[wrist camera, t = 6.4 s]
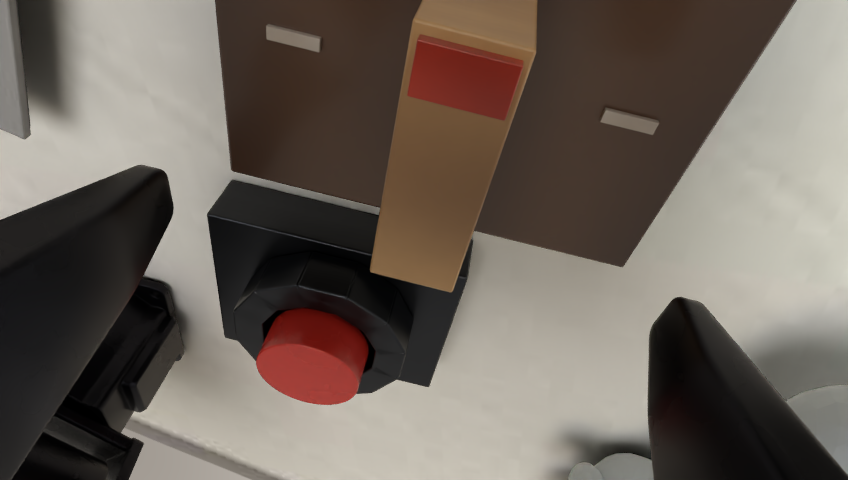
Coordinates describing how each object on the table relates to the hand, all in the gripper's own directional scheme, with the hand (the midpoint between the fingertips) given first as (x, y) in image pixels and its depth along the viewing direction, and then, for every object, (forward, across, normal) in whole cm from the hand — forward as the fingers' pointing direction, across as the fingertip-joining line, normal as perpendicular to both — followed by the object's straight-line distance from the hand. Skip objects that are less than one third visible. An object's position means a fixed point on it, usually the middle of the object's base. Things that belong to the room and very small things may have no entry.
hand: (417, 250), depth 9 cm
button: (+6, +3, +12) cm, 13 cm away
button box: (+9, +3, +12) cm, 15 cm away
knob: (+6, 0, 0) cm, 6 cm away
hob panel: (+9, 0, 0) cm, 9 cm away
